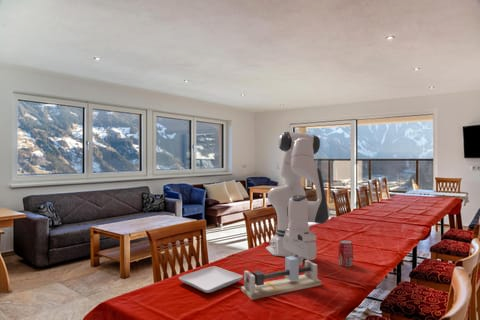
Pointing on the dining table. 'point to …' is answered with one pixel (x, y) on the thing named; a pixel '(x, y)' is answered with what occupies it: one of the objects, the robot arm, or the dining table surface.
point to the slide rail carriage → (292, 268)
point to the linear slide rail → (279, 282)
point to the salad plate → (210, 279)
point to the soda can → (345, 253)
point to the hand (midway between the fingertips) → (298, 264)
